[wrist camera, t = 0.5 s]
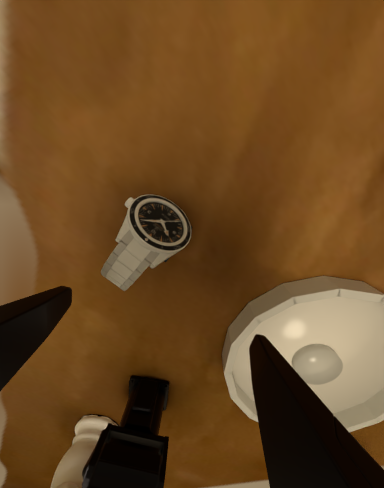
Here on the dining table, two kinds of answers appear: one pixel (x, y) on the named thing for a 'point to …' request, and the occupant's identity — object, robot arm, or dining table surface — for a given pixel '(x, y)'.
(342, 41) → the dining table surface
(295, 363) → the groove tray
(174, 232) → the watch
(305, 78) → the dining table surface
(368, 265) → the dining table surface
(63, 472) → the cherub figurine
